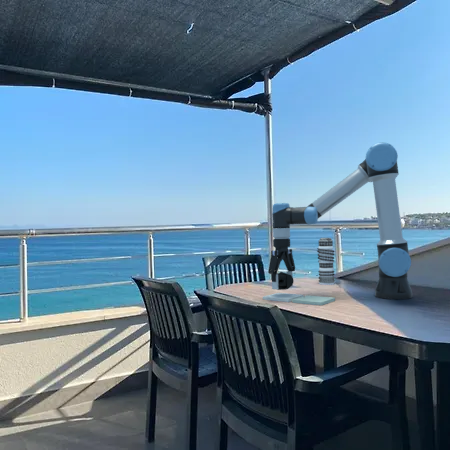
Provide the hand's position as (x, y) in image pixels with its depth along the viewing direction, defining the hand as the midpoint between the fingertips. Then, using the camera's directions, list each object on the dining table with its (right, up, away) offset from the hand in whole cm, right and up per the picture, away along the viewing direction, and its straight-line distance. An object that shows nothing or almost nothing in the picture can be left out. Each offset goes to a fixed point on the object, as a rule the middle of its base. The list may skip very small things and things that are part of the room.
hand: (282, 287), depth 186 cm
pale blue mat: (0, -5, 0) cm, 5 cm away
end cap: (0, 0, 0) cm, 0 cm away
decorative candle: (+30, -5, +43) cm, 53 cm away
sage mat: (+12, -4, -10) cm, 16 cm away
